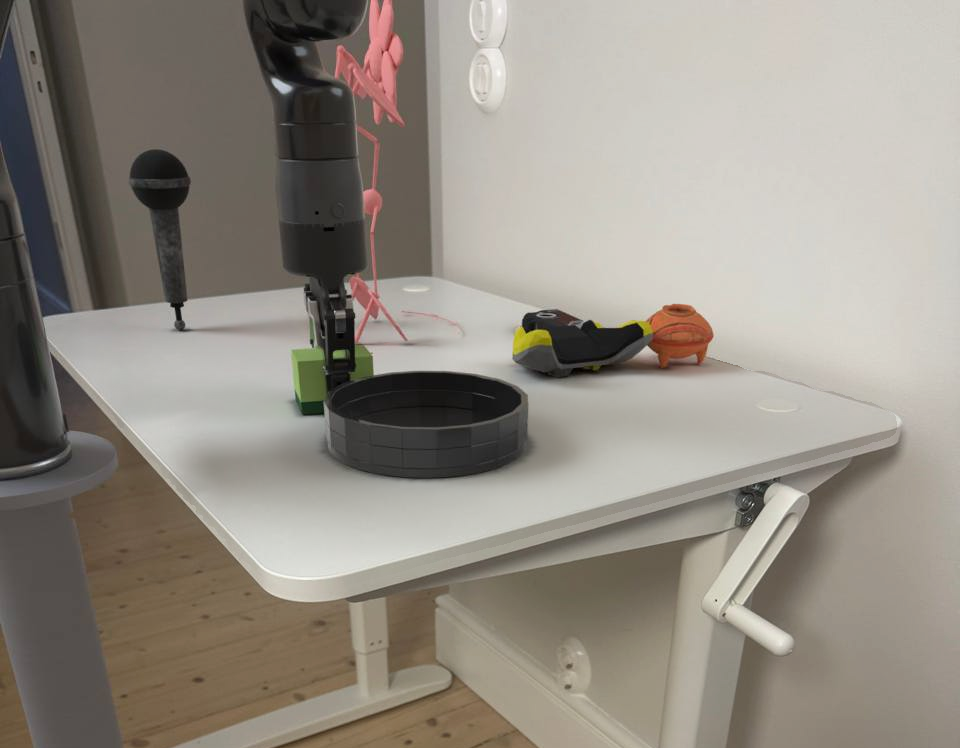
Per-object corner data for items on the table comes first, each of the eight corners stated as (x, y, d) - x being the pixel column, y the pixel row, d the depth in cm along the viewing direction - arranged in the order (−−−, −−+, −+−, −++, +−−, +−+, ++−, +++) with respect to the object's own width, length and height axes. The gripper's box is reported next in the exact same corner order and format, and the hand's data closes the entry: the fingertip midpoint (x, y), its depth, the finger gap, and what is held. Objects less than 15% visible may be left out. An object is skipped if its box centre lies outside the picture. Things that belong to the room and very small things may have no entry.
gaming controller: (656, 374, 106) (608, 353, 113) (662, 322, 103) (612, 303, 111) (532, 390, 100) (490, 366, 108) (534, 334, 97) (491, 314, 105)
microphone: (139, 332, 120) (110, 149, 110) (177, 321, 125) (152, 146, 115) (184, 339, 117) (158, 152, 107) (220, 327, 123) (199, 148, 113)
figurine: (362, 362, 109) (342, -18, 91) (320, 314, 130) (298, -2, 112) (493, 353, 113) (499, -13, 95) (432, 307, 134) (428, 1, 117)
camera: (548, 325, 114) (514, 308, 123) (549, 349, 116) (515, 331, 125) (598, 317, 116) (560, 301, 125) (598, 341, 117) (561, 323, 126)
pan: (347, 487, 76) (344, 437, 74) (314, 421, 91) (310, 377, 89) (555, 466, 81) (557, 419, 79) (492, 406, 95) (493, 365, 93)
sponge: (302, 415, 92) (297, 361, 90) (295, 401, 96) (290, 349, 93) (375, 408, 94) (372, 355, 91) (366, 395, 98) (363, 344, 95)
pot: (705, 351, 113) (716, 294, 109) (708, 385, 108) (719, 327, 103) (635, 346, 114) (643, 289, 109) (635, 379, 108) (642, 321, 104)
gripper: (269, 206, 91) (287, 389, 100) (288, 227, 80) (307, 432, 88) (349, 203, 93) (360, 383, 102) (380, 223, 81) (389, 424, 90)
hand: (335, 404), depth 95 cm, fingers closed on sponge, 4 cm apart
